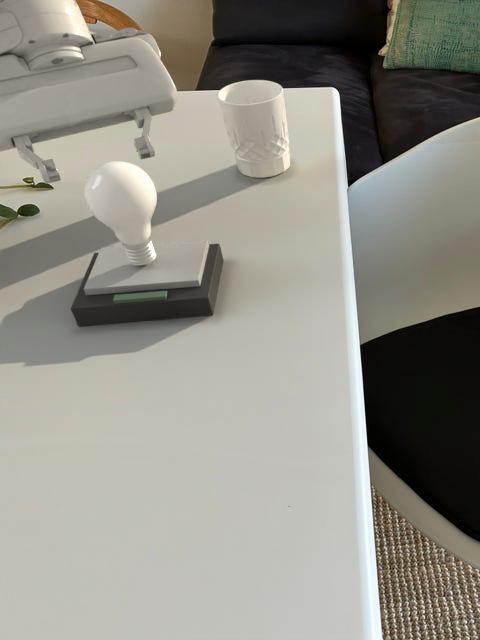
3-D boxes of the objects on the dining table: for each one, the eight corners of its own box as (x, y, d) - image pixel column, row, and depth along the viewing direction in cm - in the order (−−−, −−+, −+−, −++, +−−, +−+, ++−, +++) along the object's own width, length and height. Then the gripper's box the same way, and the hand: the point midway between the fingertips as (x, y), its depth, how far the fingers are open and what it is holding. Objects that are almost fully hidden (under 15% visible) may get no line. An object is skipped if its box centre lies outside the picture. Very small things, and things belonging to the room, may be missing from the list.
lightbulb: (186, 248, 82) (158, 151, 75) (159, 283, 77) (126, 183, 70) (129, 244, 82) (96, 147, 75) (99, 278, 78) (60, 178, 71)
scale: (78, 326, 77) (67, 302, 75) (100, 269, 84) (91, 246, 82) (213, 315, 78) (206, 290, 76) (223, 260, 86) (217, 236, 84)
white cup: (257, 186, 98) (241, 110, 92) (222, 167, 102) (204, 92, 96) (307, 165, 103) (295, 91, 96) (271, 147, 107) (258, 74, 100)
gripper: (147, 40, 87) (198, 154, 87) (-58, 79, 78) (-1, 206, 78) (148, 8, 81) (203, 130, 81) (-73, 46, 72) (-12, 183, 73)
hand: (101, 168), depth 80 cm, fingers open, 8 cm apart
